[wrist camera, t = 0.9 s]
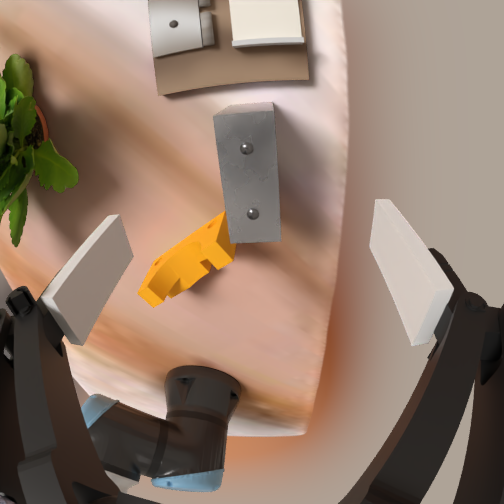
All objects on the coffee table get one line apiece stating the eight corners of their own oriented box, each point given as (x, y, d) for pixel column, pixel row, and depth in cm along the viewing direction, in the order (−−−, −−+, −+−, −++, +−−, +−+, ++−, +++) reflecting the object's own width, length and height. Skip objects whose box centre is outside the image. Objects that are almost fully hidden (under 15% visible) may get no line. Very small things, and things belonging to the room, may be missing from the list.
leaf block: (278, 196, 30) (281, 242, 22) (240, 198, 30) (230, 244, 23) (272, 101, 24) (274, 110, 17) (230, 105, 25) (212, 115, 17)
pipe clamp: (177, 282, 37) (164, 316, 32) (154, 260, 36) (137, 293, 30) (248, 238, 33) (244, 273, 28) (225, 210, 31) (215, 241, 26)
